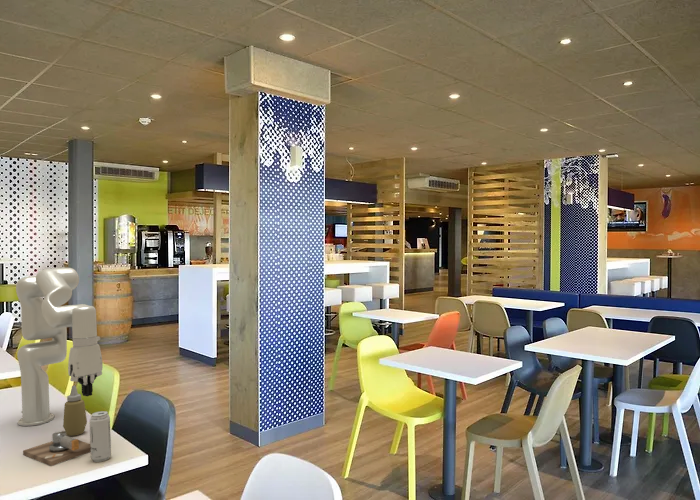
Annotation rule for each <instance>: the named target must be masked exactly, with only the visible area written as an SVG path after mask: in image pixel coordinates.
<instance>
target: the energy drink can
mask: <svg viewBox="0 0 700 500" xmlns="http://www.w3.org/2000/svg"><path fill="white" fill-rule="evenodd" d="M108 413H109V412H108V411H106V410H105V411H103V410H101V411H95V412H93V413H92V414H91V416H90V418H89V436H90V437H89V440H90V443H89V444H90V446H91V452H90V458H91V460H92V461H93V462H95V463H101V462H105V461H107V460H109V459H110V457H111V456H112V440H111V438H112V437H111V436H112V435H111V418H110V415H109V414H108Z"/></svg>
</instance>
